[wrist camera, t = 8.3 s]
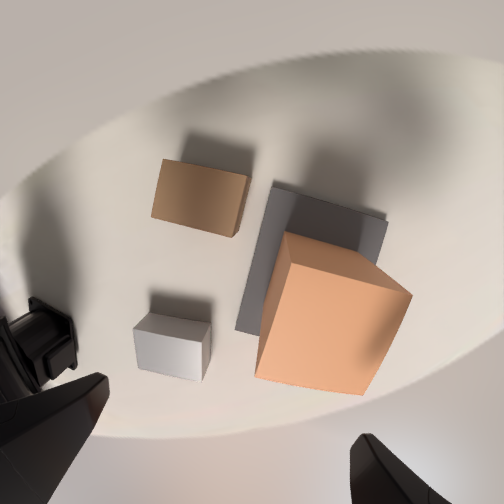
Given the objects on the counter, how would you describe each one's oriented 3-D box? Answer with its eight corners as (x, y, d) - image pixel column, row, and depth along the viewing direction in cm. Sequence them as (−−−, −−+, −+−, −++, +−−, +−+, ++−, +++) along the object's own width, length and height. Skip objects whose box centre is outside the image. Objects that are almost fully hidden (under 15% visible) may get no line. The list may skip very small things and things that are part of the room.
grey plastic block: (152, 348, 21) (138, 368, 18) (150, 311, 20) (132, 328, 17) (210, 360, 20) (201, 382, 18) (211, 322, 20) (201, 342, 17)
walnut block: (169, 213, 18) (150, 217, 15) (180, 163, 17) (163, 158, 15) (239, 230, 18) (231, 238, 15) (251, 178, 17) (246, 175, 14)
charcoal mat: (235, 326, 19) (234, 329, 19) (271, 186, 17) (271, 186, 17) (338, 349, 19) (340, 353, 18) (385, 220, 17) (388, 221, 16)
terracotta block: (263, 303, 18) (254, 377, 10) (284, 231, 17) (291, 262, 9) (333, 320, 18) (362, 395, 10) (357, 252, 17) (412, 295, 9)
